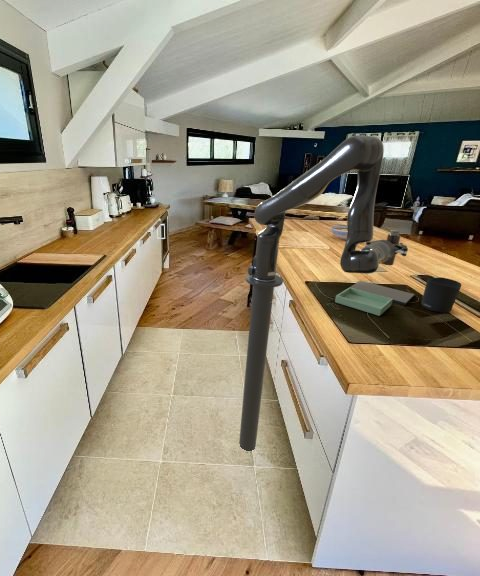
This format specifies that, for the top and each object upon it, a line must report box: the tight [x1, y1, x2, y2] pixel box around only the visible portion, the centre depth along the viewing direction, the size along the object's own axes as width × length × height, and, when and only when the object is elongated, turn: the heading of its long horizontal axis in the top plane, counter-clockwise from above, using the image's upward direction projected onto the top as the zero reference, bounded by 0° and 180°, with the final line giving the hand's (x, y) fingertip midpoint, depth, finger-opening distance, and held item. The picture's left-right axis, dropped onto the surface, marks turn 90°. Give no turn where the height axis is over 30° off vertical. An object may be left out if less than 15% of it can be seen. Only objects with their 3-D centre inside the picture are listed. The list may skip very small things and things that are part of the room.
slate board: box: [349, 280, 415, 306], centre depth 123 cm, size 20×12×1 cm, turn 43°
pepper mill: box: [380, 229, 401, 266], centre depth 116 cm, size 4×4×13 cm
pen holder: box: [421, 276, 462, 314], centre depth 110 cm, size 9×9×10 cm
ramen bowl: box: [329, 223, 347, 241], centre depth 209 cm, size 25×23×8 cm
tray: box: [334, 286, 393, 317], centre depth 114 cm, size 15×12×3 cm
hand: (393, 244), depth 117 cm, fingers closed on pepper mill, 4 cm apart
